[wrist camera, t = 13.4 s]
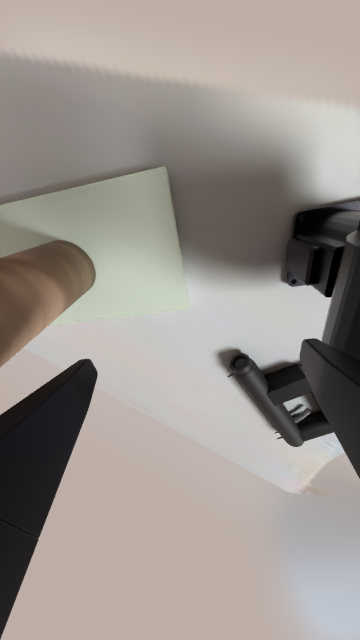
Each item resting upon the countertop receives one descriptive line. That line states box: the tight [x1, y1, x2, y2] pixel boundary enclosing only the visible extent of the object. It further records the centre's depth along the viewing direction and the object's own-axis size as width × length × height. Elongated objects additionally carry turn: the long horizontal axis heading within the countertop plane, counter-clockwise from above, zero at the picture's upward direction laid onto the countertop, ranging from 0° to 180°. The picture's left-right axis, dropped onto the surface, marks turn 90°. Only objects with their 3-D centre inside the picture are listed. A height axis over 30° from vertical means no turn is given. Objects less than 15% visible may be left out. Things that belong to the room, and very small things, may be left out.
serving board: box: [0, 166, 190, 326], centre depth 19 cm, size 18×12×1 cm, turn 100°
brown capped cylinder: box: [0, 240, 96, 367], centre depth 14 cm, size 5×5×12 cm
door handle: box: [228, 354, 334, 447], centre depth 26 cm, size 3×20×16 cm
